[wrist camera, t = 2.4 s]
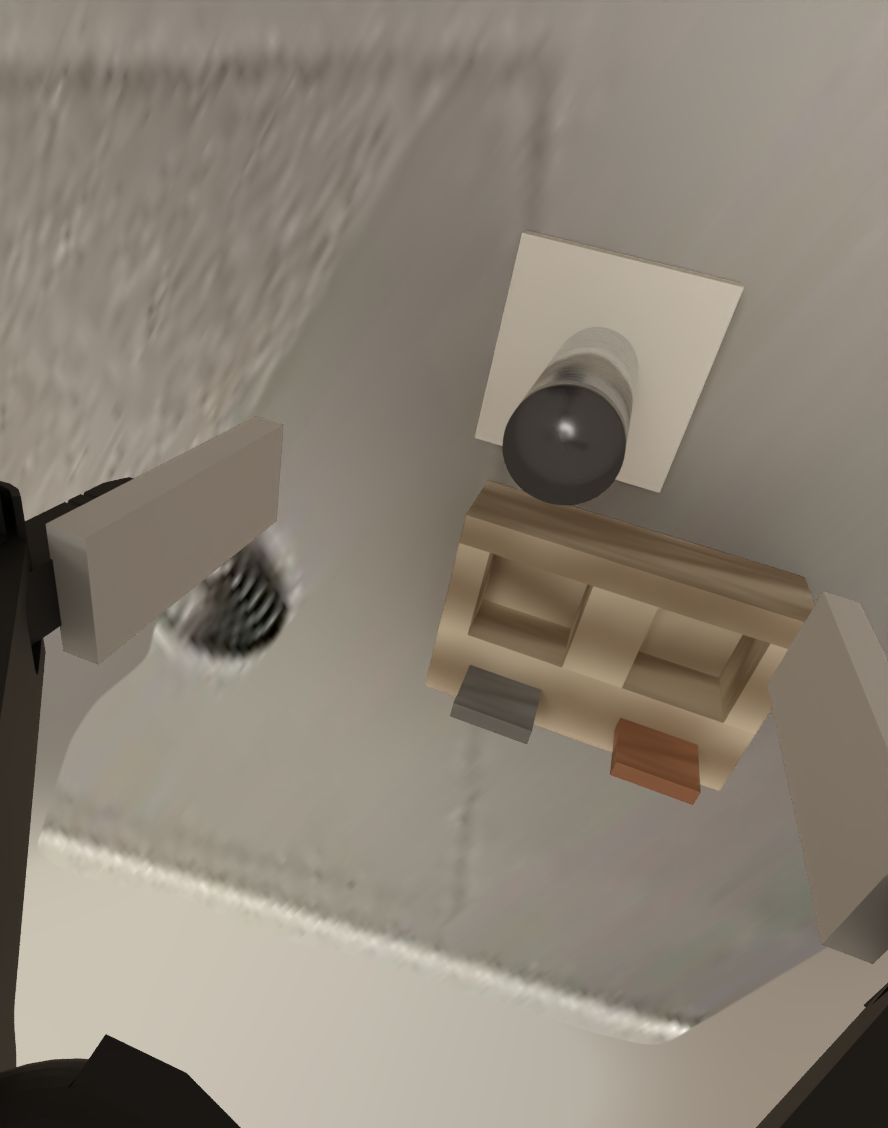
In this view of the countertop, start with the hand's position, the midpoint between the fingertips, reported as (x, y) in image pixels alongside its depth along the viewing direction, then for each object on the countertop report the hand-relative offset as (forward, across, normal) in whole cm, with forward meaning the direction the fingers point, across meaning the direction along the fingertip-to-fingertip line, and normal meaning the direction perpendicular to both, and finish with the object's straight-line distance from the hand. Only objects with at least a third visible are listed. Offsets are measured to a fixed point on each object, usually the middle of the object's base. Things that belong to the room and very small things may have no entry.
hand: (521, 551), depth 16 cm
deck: (+21, 0, 0) cm, 21 cm away
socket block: (+21, +5, -14) cm, 26 cm away
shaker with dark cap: (+19, 0, 0) cm, 19 cm away
